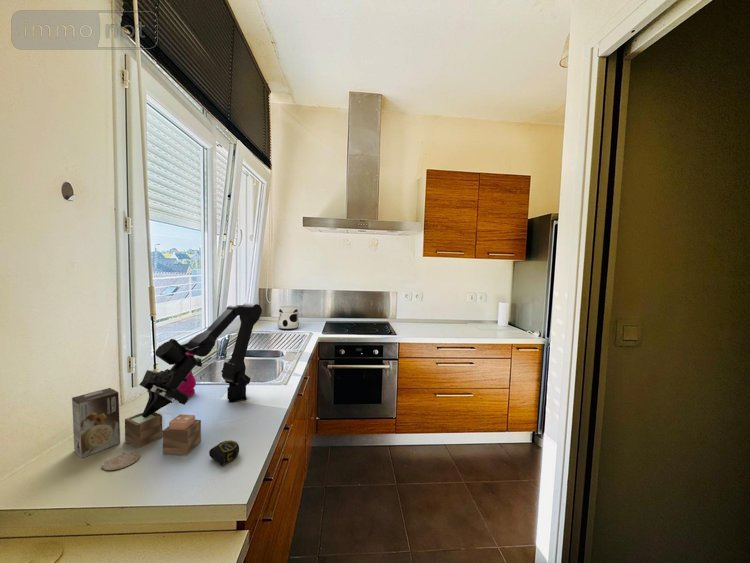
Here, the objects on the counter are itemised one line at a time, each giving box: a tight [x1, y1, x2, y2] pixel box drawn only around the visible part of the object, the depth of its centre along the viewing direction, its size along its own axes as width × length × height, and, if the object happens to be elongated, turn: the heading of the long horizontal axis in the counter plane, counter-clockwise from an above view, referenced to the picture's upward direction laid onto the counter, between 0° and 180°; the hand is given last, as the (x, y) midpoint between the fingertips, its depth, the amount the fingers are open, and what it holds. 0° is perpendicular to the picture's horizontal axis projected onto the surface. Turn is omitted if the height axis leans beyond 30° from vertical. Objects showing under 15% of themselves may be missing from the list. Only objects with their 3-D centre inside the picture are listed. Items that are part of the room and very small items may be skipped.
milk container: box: [277, 305, 300, 331], centre depth 259 cm, size 17×17×18 cm
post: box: [124, 411, 163, 449], centre depth 97 cm, size 7×7×7 cm
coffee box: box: [71, 387, 121, 459], centre depth 92 cm, size 9×6×16 cm
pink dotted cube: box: [168, 413, 196, 430], centre depth 93 cm, size 5×5×5 cm
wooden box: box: [162, 419, 202, 457], centre depth 93 cm, size 7×7×7 cm
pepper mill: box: [178, 353, 197, 398], centre depth 128 cm, size 7×7×20 cm
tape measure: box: [208, 440, 240, 466], centre depth 89 cm, size 7×7×4 cm
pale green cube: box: [131, 414, 156, 423], centre depth 97 cm, size 5×5×5 cm
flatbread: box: [101, 451, 141, 471], centre depth 86 cm, size 8×8×1 cm
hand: (143, 416), depth 97 cm, fingers closed, pressing on pale green cube
